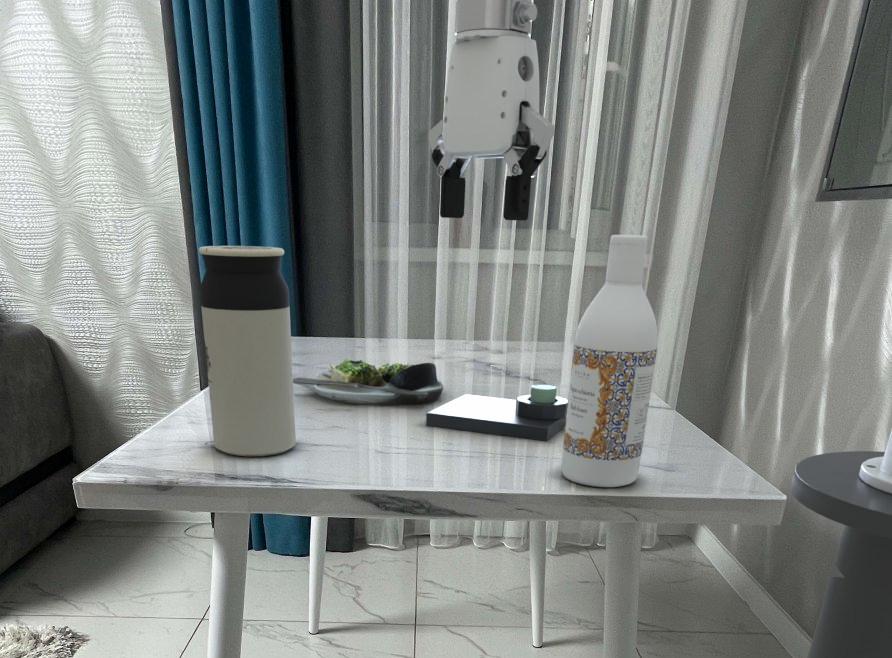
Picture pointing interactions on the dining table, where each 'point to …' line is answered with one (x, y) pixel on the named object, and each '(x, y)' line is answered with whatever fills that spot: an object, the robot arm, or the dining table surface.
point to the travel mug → (248, 349)
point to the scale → (502, 416)
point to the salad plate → (377, 383)
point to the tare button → (543, 393)
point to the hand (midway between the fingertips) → (482, 218)
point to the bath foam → (612, 374)
